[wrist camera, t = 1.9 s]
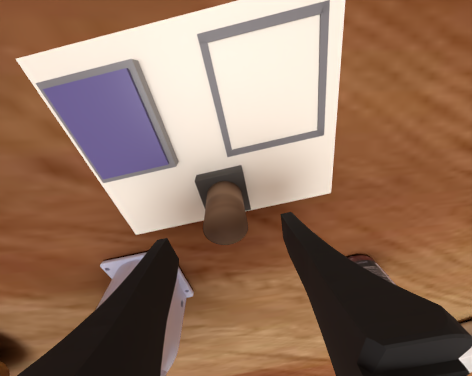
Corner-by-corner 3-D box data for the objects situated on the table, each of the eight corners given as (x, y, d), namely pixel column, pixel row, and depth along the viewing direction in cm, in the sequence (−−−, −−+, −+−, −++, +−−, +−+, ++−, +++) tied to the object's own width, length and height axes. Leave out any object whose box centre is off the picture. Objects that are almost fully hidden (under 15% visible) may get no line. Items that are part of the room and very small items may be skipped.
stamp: (249, 202, 18) (259, 243, 13) (209, 210, 18) (205, 254, 13) (241, 164, 15) (250, 198, 11) (196, 175, 16) (186, 212, 11)
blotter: (327, 189, 18) (331, 193, 18) (138, 230, 19) (135, 235, 18) (341, -23, 11) (348, -30, 10) (24, 60, 11) (13, 58, 11)
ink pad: (178, 161, 15) (175, 168, 14) (109, 177, 15) (101, 185, 14) (138, 60, 11) (129, 58, 10) (49, 83, 12) (30, 83, 11)
